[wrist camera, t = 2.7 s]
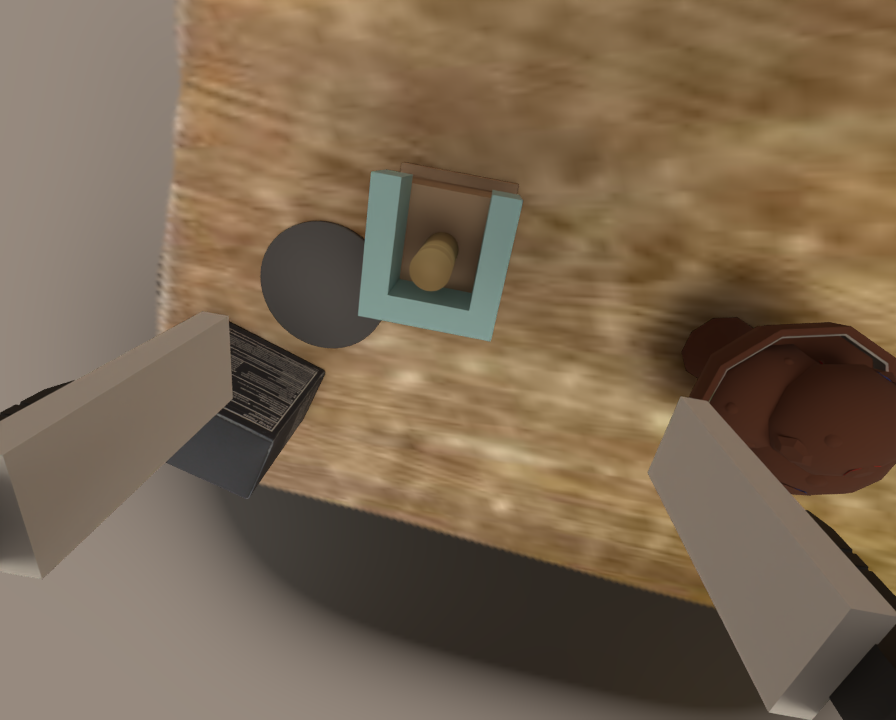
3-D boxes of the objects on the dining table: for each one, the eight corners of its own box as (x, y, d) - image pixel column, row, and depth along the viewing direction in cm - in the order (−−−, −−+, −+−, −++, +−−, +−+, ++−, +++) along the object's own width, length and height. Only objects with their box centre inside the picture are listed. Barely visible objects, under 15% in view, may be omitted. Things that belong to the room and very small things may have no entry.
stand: (404, 162, 31) (355, 165, 20) (518, 183, 31) (533, 199, 20) (391, 274, 35) (342, 331, 23) (493, 294, 35) (494, 361, 23)
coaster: (263, 209, 34) (260, 210, 33) (396, 234, 33) (394, 236, 33) (264, 332, 38) (260, 335, 37) (381, 355, 38) (379, 358, 37)
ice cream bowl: (618, 342, 35) (697, 459, 22) (757, 250, 32) (958, 321, 18) (687, 433, 38) (797, 587, 24) (823, 358, 34) (1041, 490, 21)
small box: (192, 371, 40) (99, 439, 30) (212, 311, 37) (116, 364, 28) (302, 425, 41) (245, 505, 32) (328, 370, 39) (274, 439, 29)
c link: (386, 169, 25) (371, 171, 22) (519, 194, 25) (523, 200, 22) (372, 297, 28) (357, 315, 25) (490, 320, 28) (490, 341, 25)
